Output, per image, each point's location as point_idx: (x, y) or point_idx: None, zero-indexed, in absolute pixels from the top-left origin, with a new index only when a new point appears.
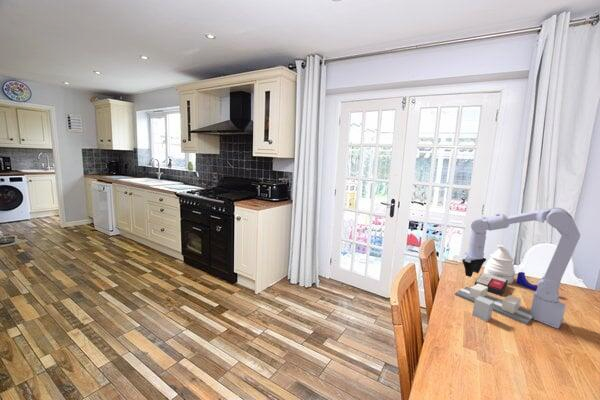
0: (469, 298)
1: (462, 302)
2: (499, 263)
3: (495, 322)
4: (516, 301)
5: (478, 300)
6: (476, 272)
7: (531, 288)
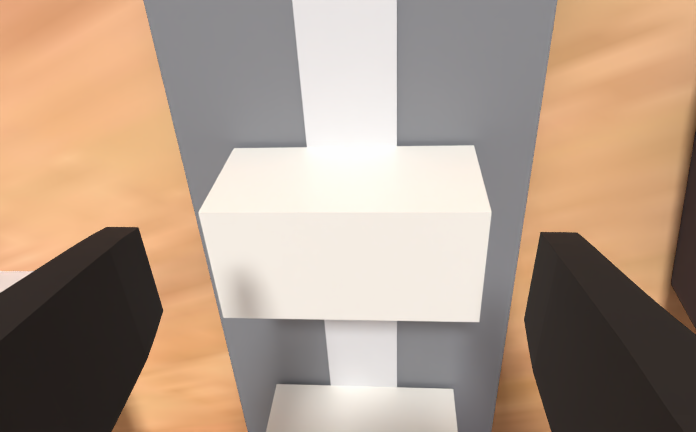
0: (192, 167)
1: (81, 132)
2: None
3: None
4: None
5: None
6: (532, 301)
7: None
